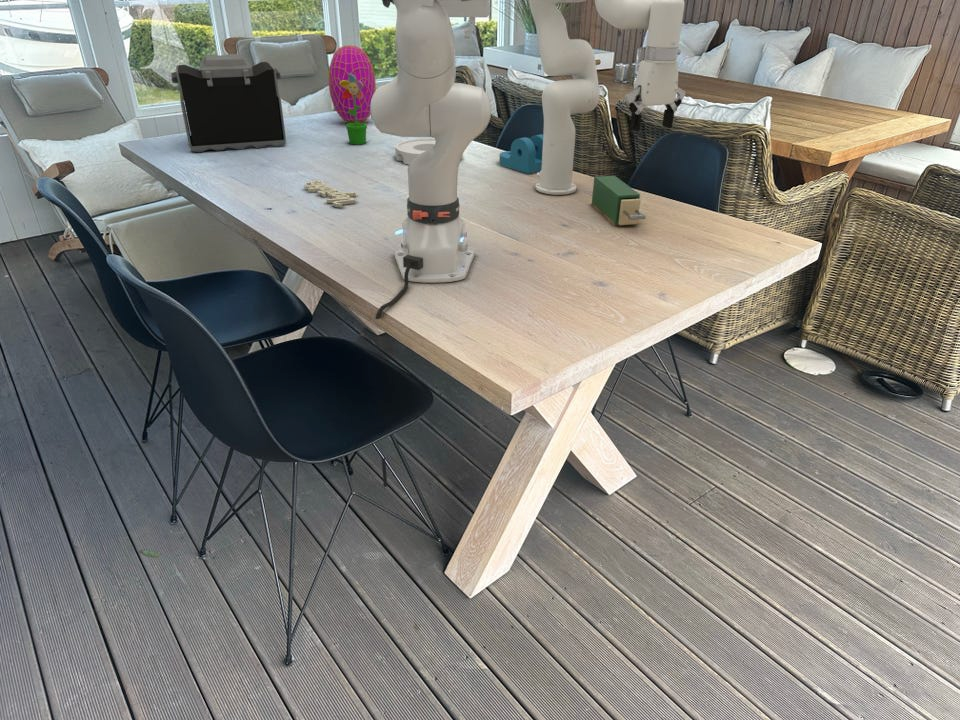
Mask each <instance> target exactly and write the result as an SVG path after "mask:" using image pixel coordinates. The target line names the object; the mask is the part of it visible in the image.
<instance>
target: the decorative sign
mask: <svg viewBox="0 0 960 720" xmlns="http://www.w3.org/2000/svg"><path fill="white" fill-rule="evenodd" d="M303 187H304V190H307V192H308V193H315V192H316V193H317V195H318V196H319V197H320V196H322V197H323V198H326V196H327V197H328V198H326V203H327V204H333V207H335V208H343V207H344V206H343V205H351V204H354V203H356V198H354V197H356V191H346V192H345V191H341V190H338V189H337V188H336V187H333V186H330V185H329V184H327V183H326V182H323V181H321V180H319V179H315V180H312V181H306V184H305V185H304V186H303Z"/></svg>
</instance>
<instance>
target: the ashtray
mask: <svg viewBox="0 0 960 720" xmlns="http://www.w3.org/2000/svg"><path fill="white" fill-rule="evenodd" d="M435 143H436V140H435V138H416V139H415V138H414V139H408V140H404V141H399V142H398V143H396V144H395V146H394V150H395V151H394V152H395V153H394V154H395V160H396V161H397V162H403V164H404V165H408V166H409V164H410V162H411V161H412V159H414V158H415V157H416V156H418V155H419V154H421V153H423V152H425V151H427V150H429V149H431V148H432V147H433V146H434V145H435Z"/></svg>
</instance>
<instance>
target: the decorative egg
mask: <svg viewBox="0 0 960 720" xmlns="http://www.w3.org/2000/svg"><path fill="white" fill-rule="evenodd" d="M348 73H350V74H352V75H354V76H355V78H356V83H357V82H358V81H361V82H362V84H363V89H361V90H360V91H361V92H362V93H363V98H362V100H359V99H358V98H357V97H356V95H355V103H356V106H359V109H358V110H356V116H357V123H364V122H365V121H366V120H368V118H369V117H371V113H370V104H371V99H372V97H373V94H374V93H375V91H376V90H377V83H376V82H377V81H376V75H375V71H374V68H373V63H372V62H371V60H370V57H369V56H368V54H367V53H366V51H365V50H363V48H361V47H359V46H357V45H353V44H352V45H351V44H348V45H343V46H340V47H338V48H337V49H336V51H334V53H333V56H332V57H331V61H330V63H329V69H328V90H329V96H330V99H331V103H332V105H333V108H334V110H335V111H336V113H337V114H338V116H339V118H341V119H342V120H343V121H344V122H346V123H348V124H349V123H355V115H351V114H349V112H348V111H349V110H354V100H353V95H352V96H351V97H350V98H348V99H341V97H342V94H343V93H344V91H345V90H347V89H346V88H343V87H342V86H341V85H340V84H339V83H340V82H341V81H342V80H346V81H349V78H348Z"/></svg>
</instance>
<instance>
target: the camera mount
mask: <svg viewBox="0 0 960 720" xmlns="http://www.w3.org/2000/svg"><path fill="white" fill-rule="evenodd" d="M542 151H543V134H542V133H541V134H535V135H532V136H531V137H530V138H529V137H525V136H524V137H520V138H515V139H514V140H513V141H512V143H511V145H510V150H506V151H502V152H500V153H499V156H498V157H499V159H498V161H499V165H500V166H503V167H506V168H509V169H511V170H515V171H518V172H520V173H524V174H527V175H529V174H534V173H538V172H539V173H540V171H541V169H542Z"/></svg>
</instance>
